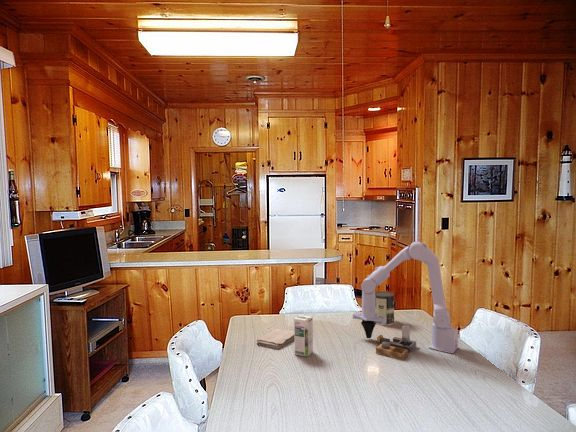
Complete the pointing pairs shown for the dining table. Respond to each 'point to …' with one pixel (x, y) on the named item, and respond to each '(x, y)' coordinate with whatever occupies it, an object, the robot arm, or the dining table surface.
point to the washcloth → (276, 338)
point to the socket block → (398, 343)
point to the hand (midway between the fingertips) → (368, 337)
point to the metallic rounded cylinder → (406, 335)
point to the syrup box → (303, 335)
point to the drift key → (382, 339)
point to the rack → (391, 351)
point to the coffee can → (385, 307)
